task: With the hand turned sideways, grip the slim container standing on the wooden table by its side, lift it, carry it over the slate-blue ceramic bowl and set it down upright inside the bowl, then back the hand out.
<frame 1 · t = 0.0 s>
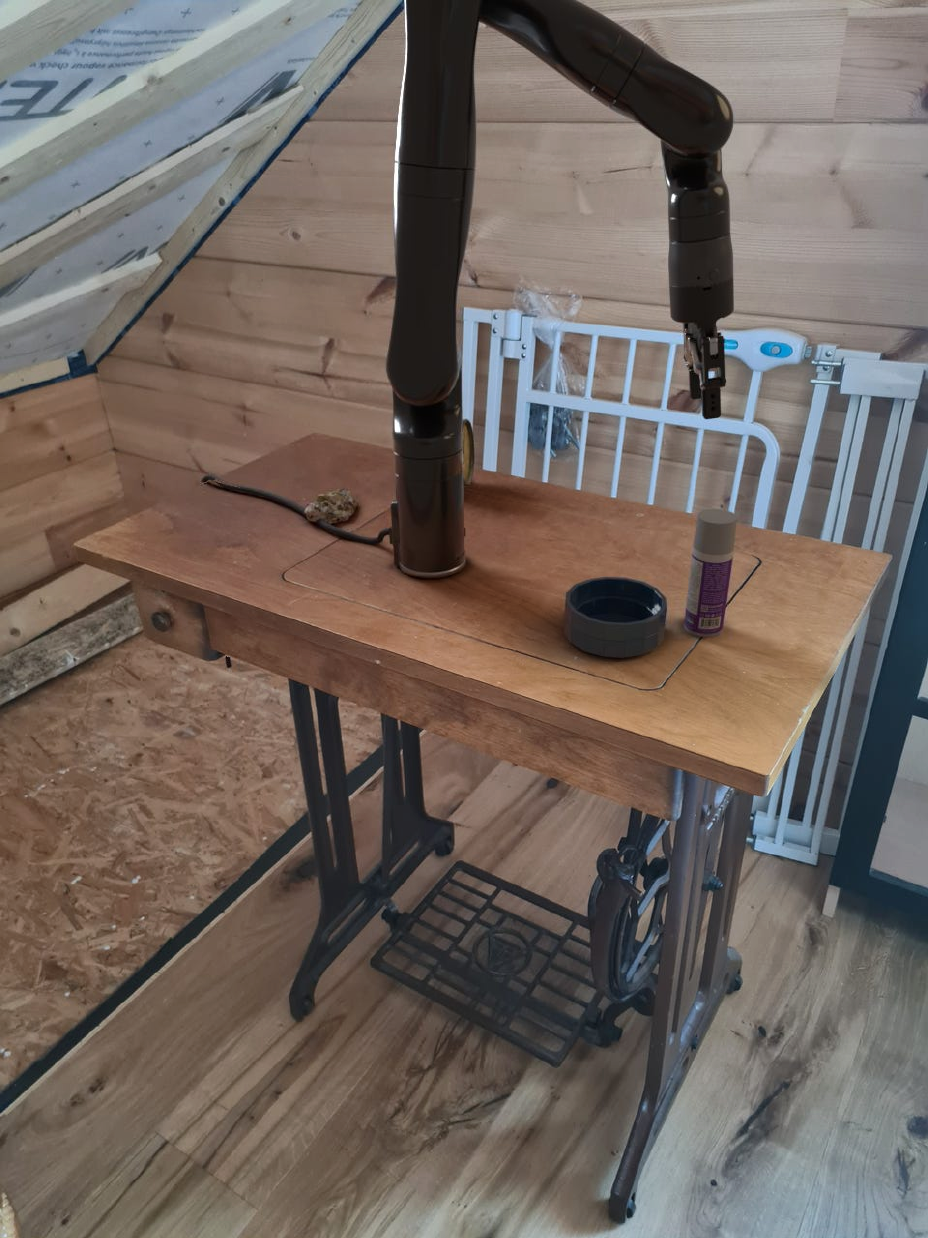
hand: (705, 407, 118), 22 cm above the table, tool pointing down, fingers open, 8 cm apart
mineral rock: (332, 514, 147), on the table
bowl: (613, 635, 112), on the table
alarm clock: (454, 490, 155), on the table
container: (702, 629, 114), on the table
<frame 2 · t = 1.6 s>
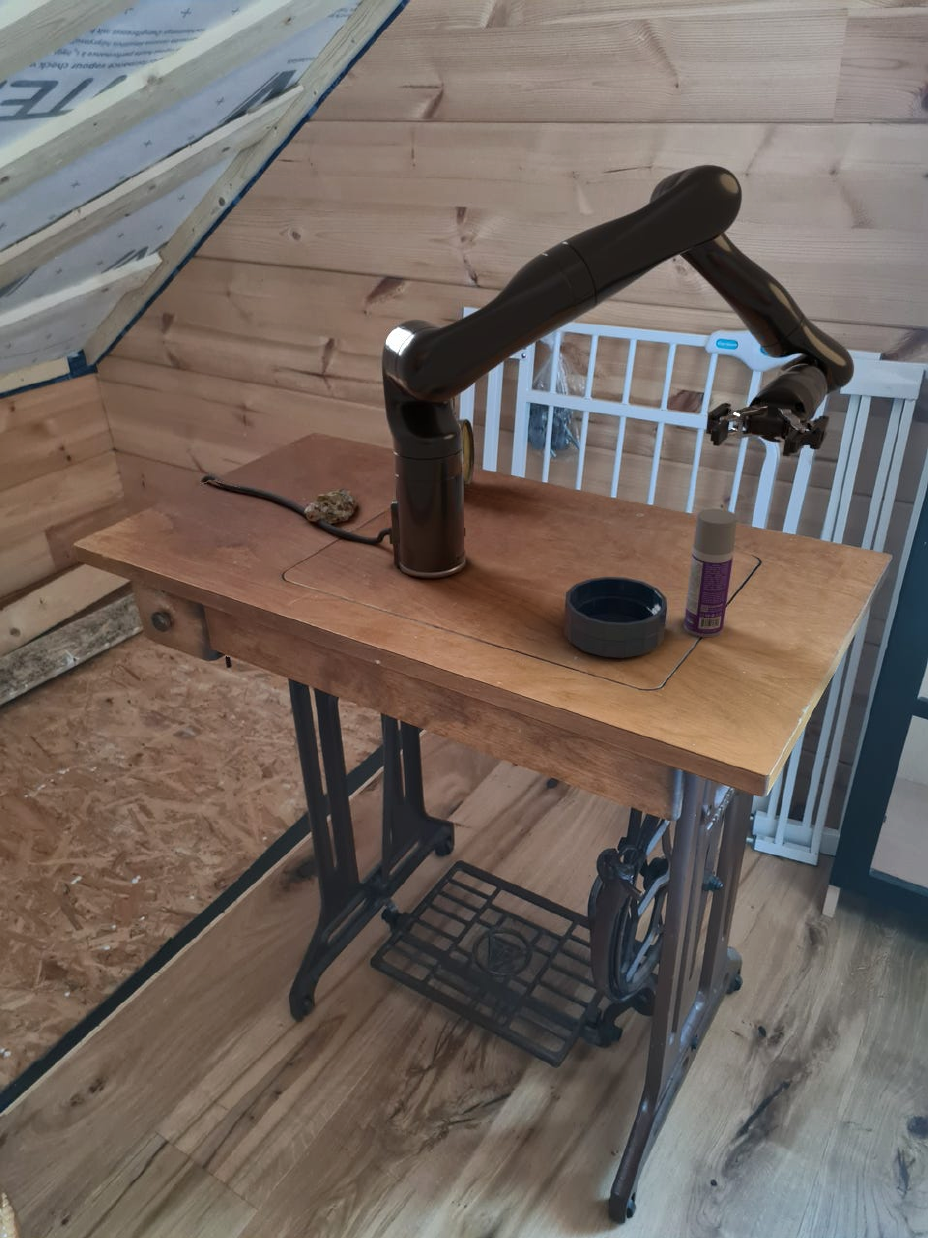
hand: (750, 443, 111), 20 cm above the table, tool horizontal, fingers open, 8 cm apart
nothing on the table moved.
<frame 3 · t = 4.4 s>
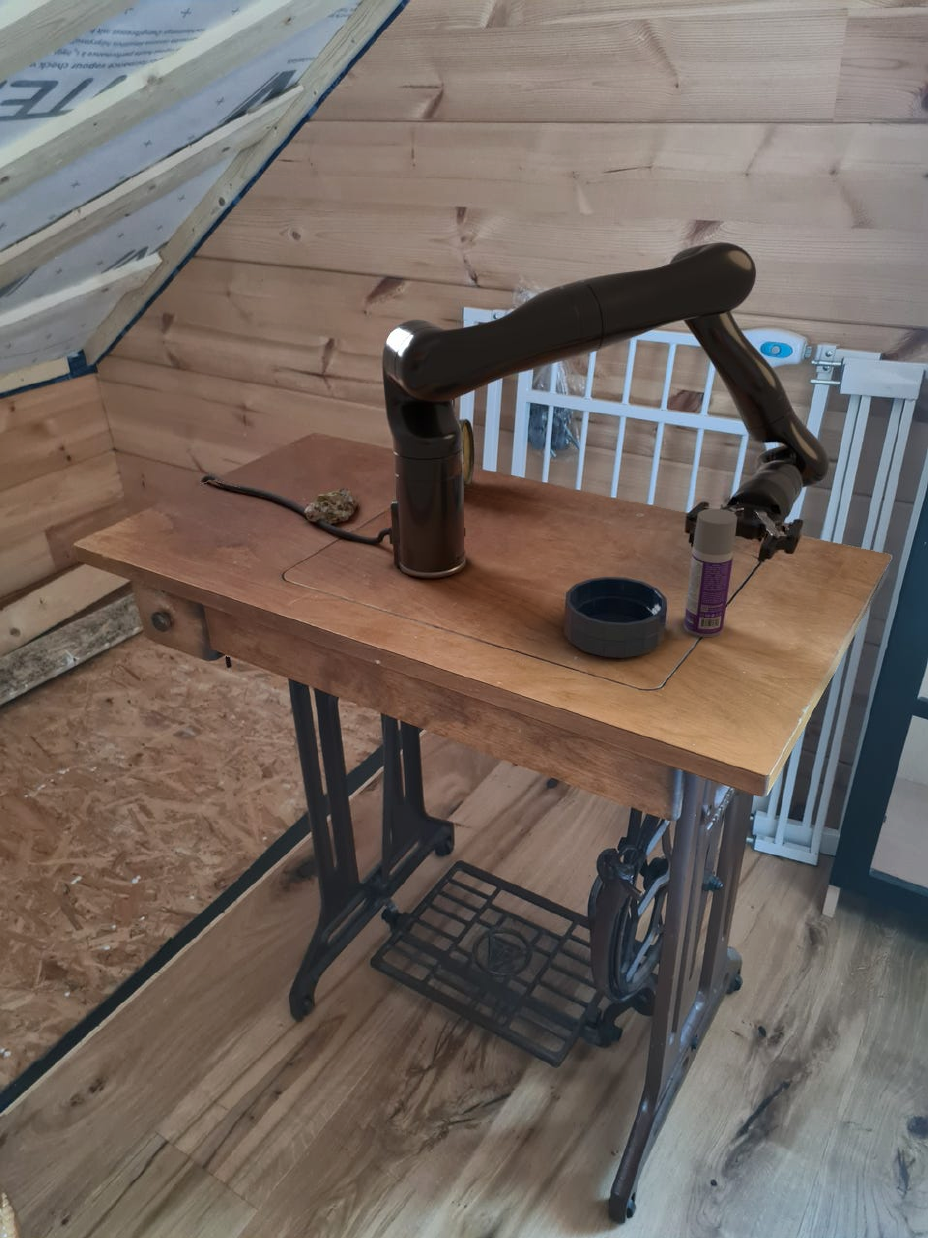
hand: (727, 547, 115), 8 cm above the table, tool horizontal, fingers open, 8 cm apart
nothing on the table moved.
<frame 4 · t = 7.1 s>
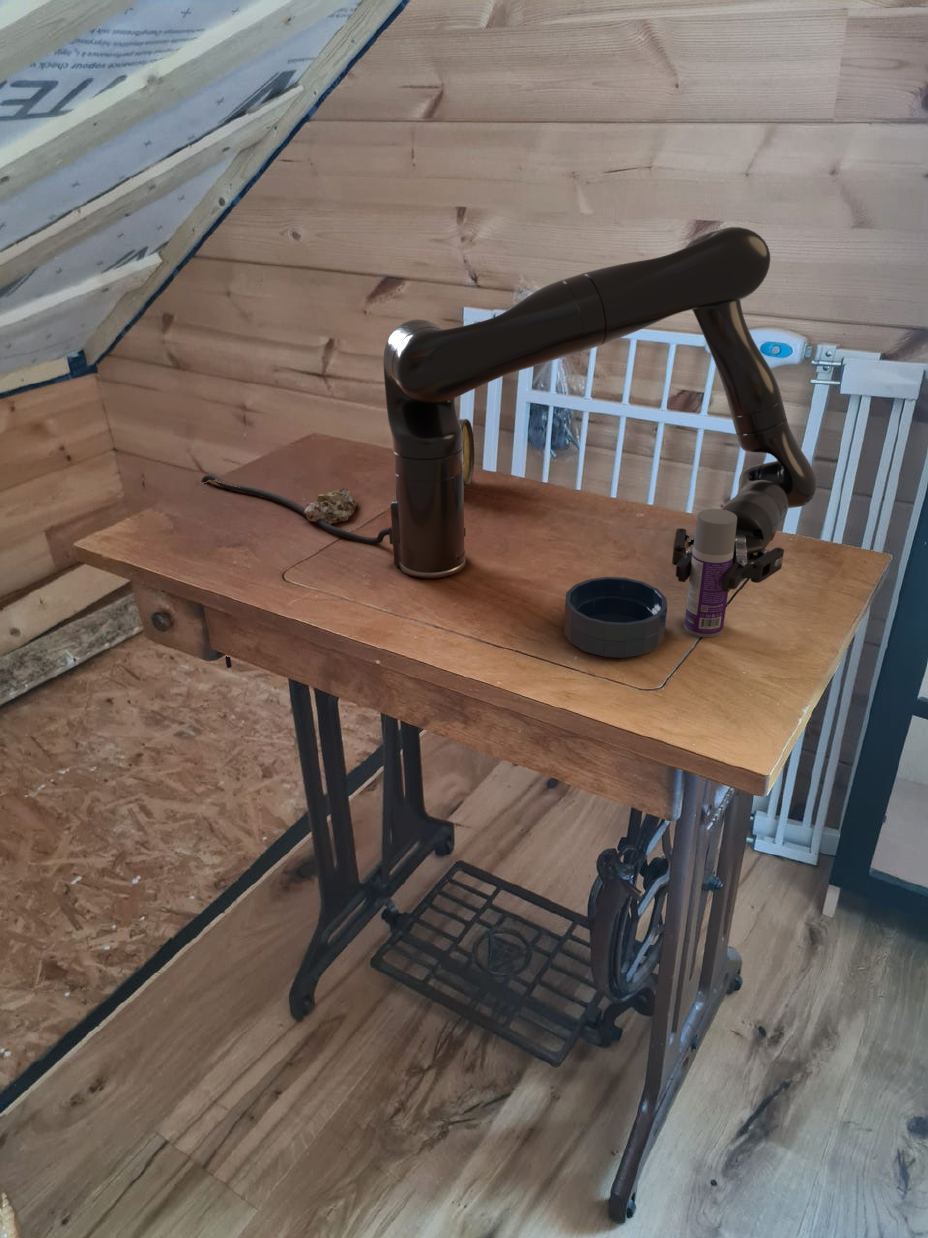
hand: (703, 579, 108), 8 cm above the table, tool horizontal, fingers closed on container, 4 cm apart
container: (703, 629, 114), on the table, touching gripper
everything else where it was.
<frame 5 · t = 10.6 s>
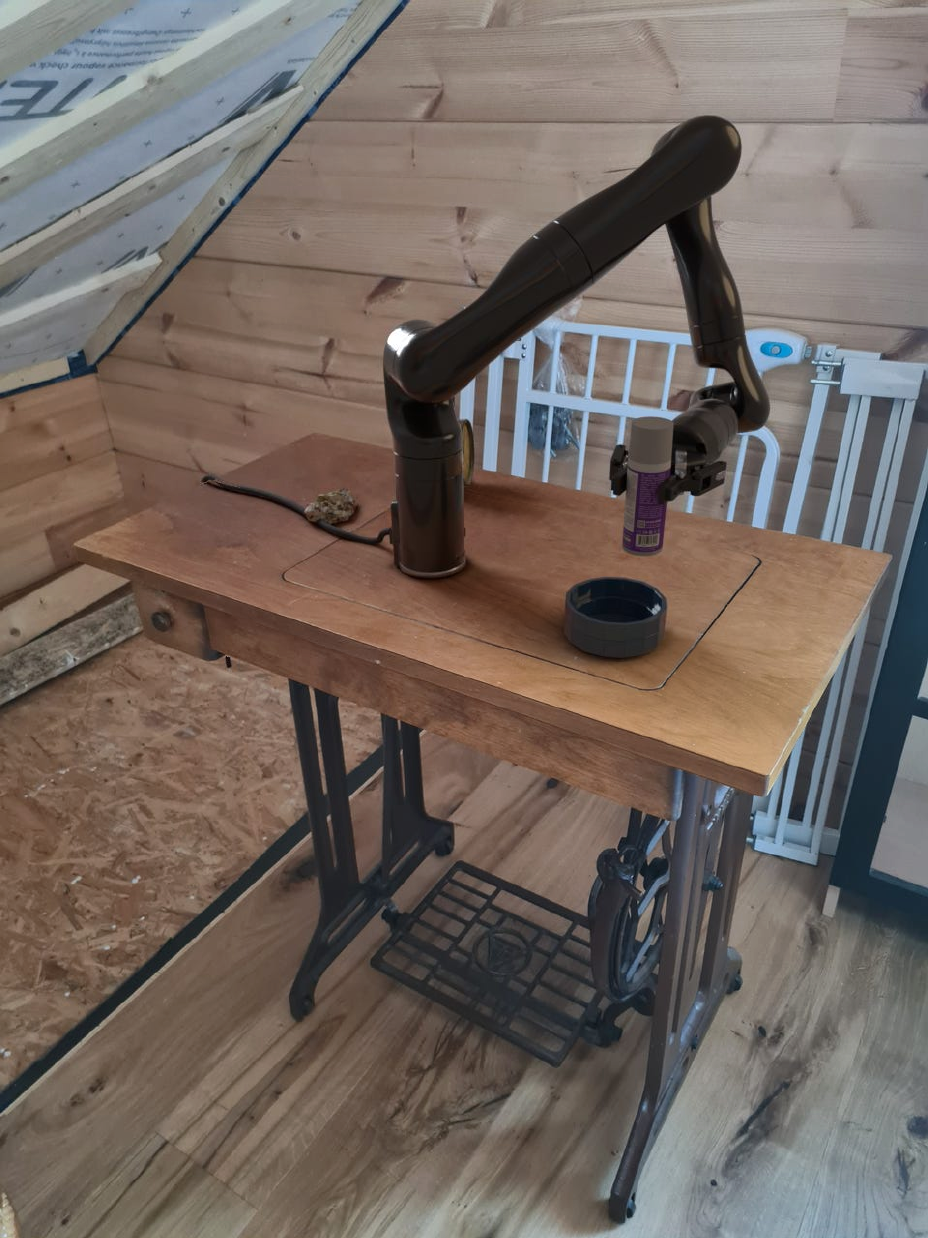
hand: (639, 491, 101), 20 cm above the table, tool horizontal, fingers closed on container, 4 cm apart
container: (642, 549, 107), point 11 cm above the table, touching gripper
everything else where it was.
when the fingers open (9 cm above the table, at t = 14.4 s): container stays where it is, resting on bowl.
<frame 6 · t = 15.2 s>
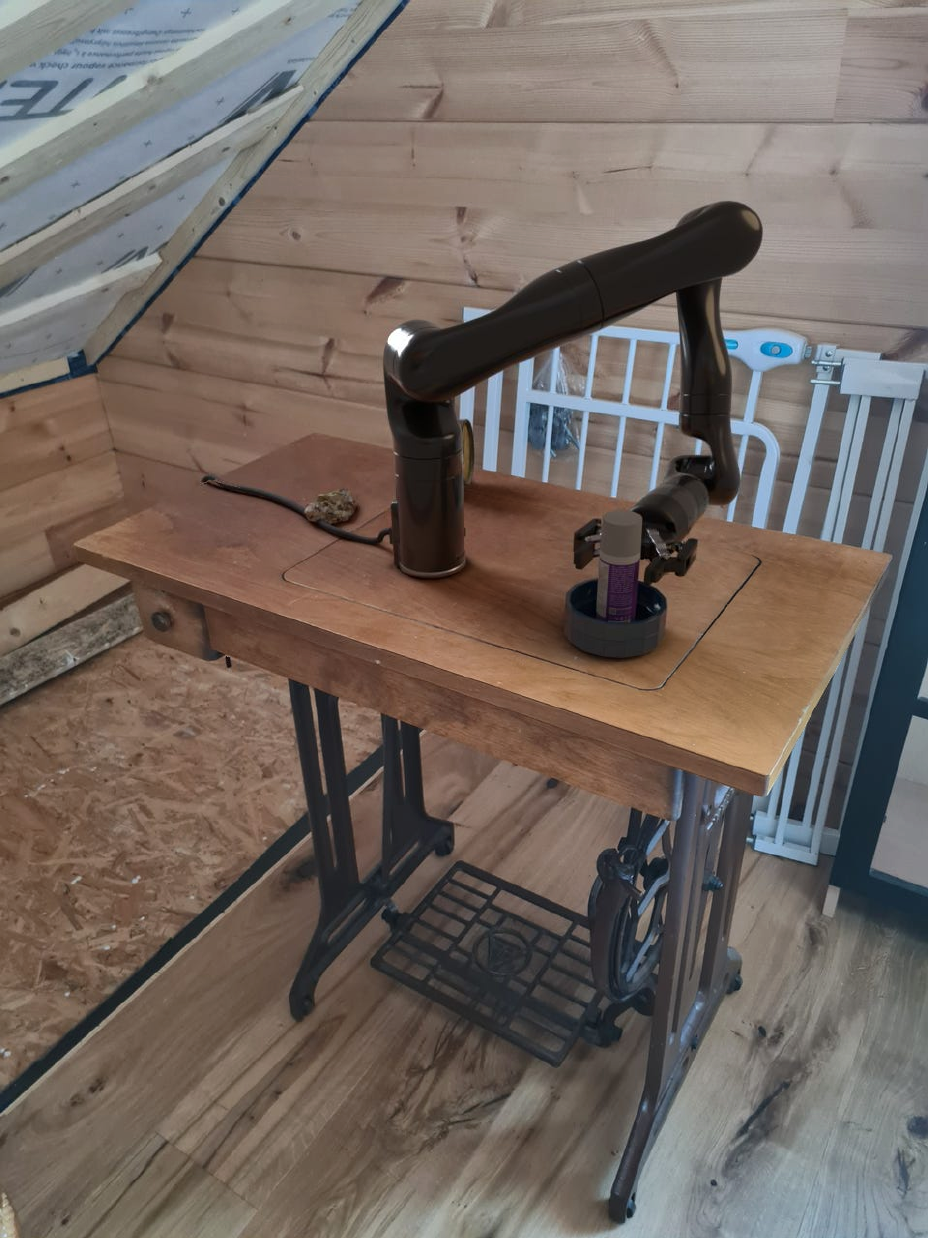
hand: (611, 570, 106), 10 cm above the table, tool horizontal, fingers open, 8 cm apart
container: (614, 632, 112), resting on bowl
everything else where it was.
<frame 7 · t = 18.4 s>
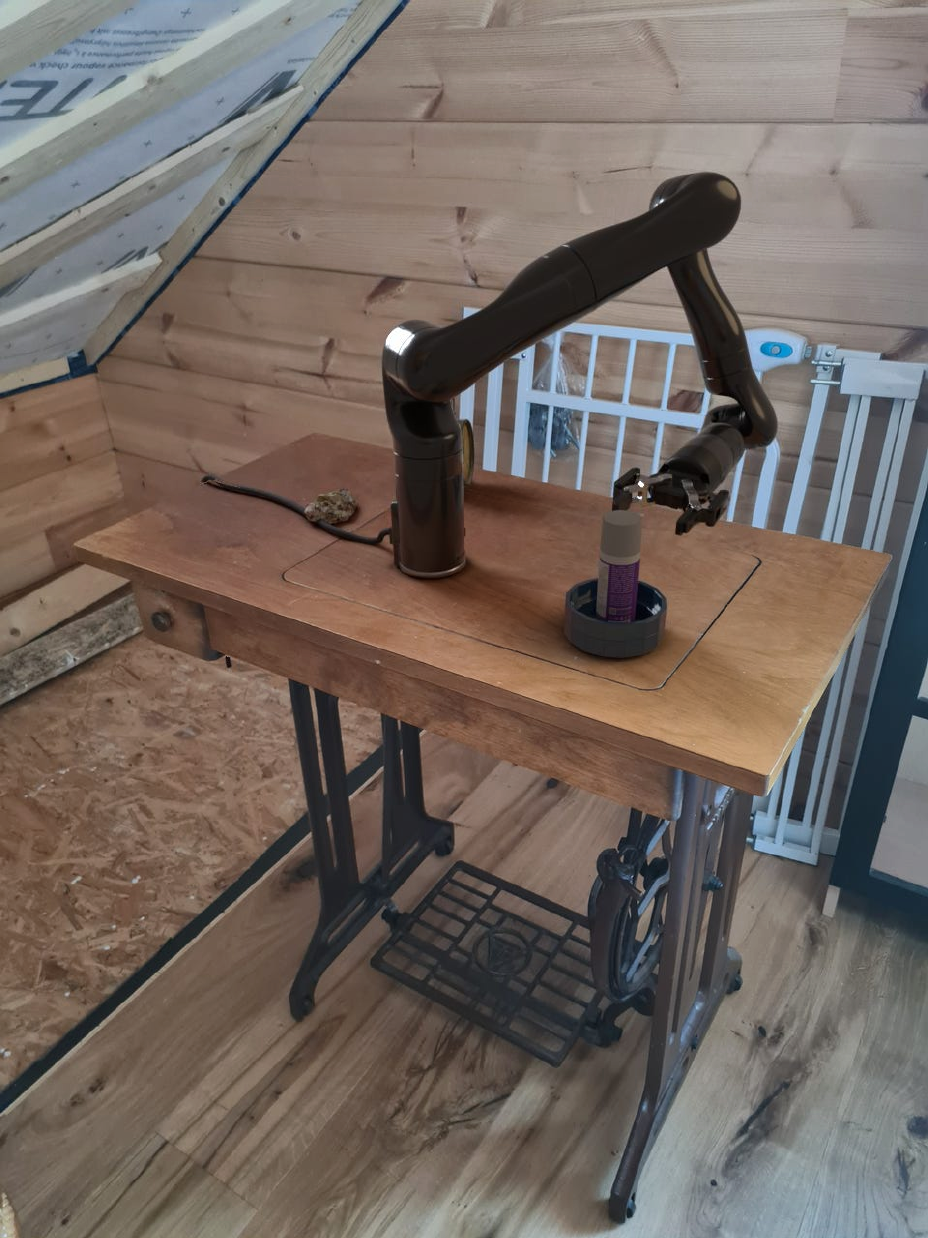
hand: (646, 519, 115), 11 cm above the table, tool horizontal, fingers open, 8 cm apart
nothing on the table moved.
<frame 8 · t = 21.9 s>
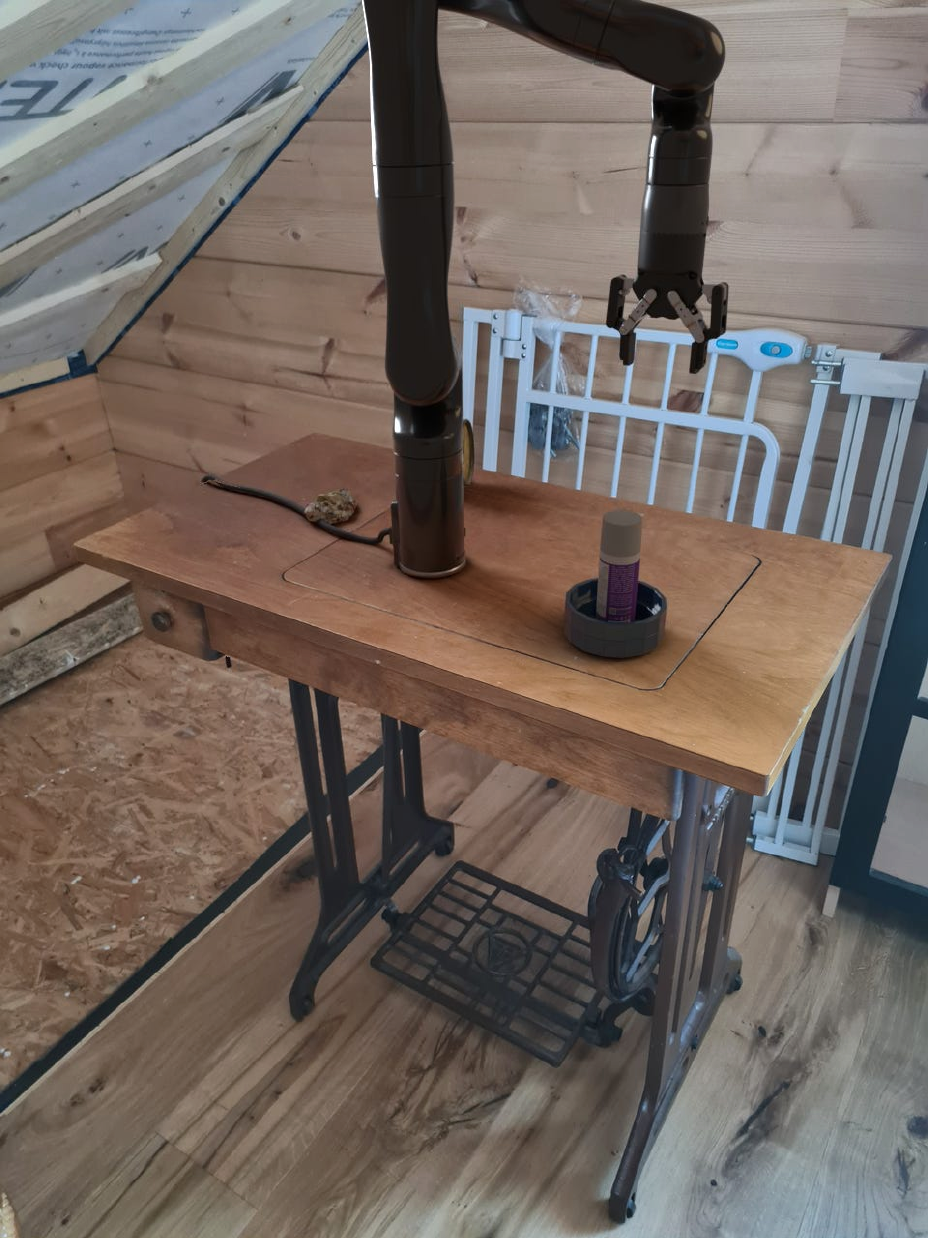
hand: (661, 368, 113), 28 cm above the table, tool pointing down, fingers open, 8 cm apart
nothing on the table moved.
at the end: container 0.2 cm off-centre in the bowl, point 0.4 cm above the bowl's base; container tilted 0°; the gripper is holding nothing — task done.
